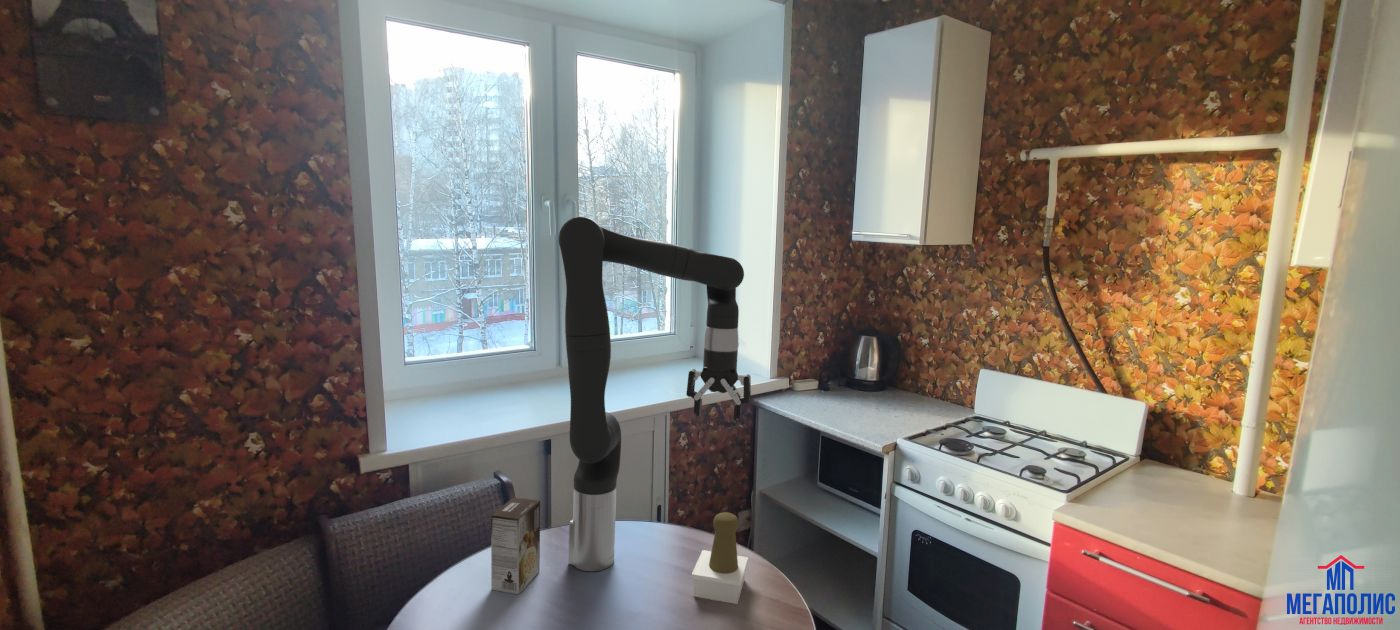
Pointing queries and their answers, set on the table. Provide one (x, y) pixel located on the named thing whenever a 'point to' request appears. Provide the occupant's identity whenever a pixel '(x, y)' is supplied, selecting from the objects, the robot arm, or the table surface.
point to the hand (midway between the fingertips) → (717, 417)
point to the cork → (724, 544)
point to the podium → (718, 580)
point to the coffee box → (515, 545)
